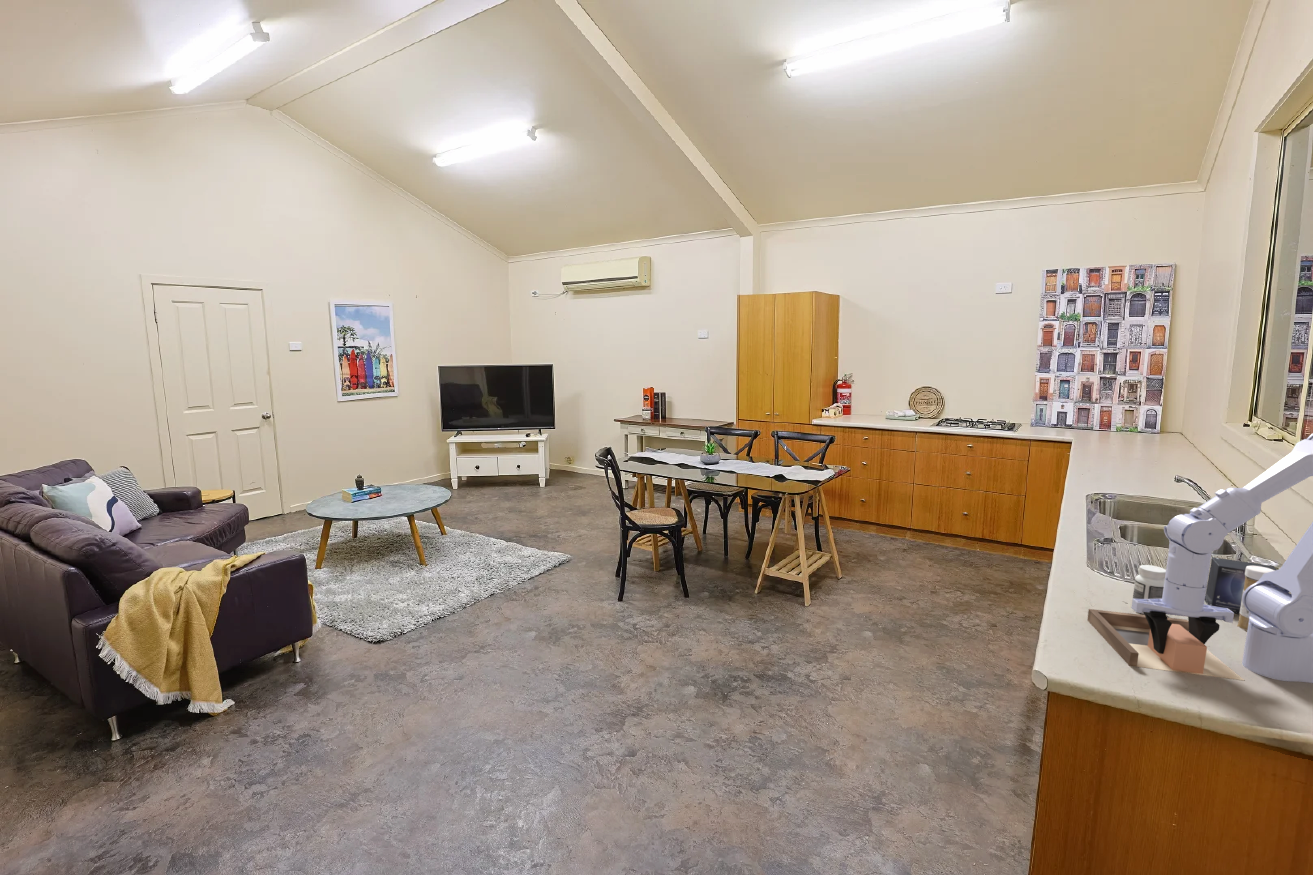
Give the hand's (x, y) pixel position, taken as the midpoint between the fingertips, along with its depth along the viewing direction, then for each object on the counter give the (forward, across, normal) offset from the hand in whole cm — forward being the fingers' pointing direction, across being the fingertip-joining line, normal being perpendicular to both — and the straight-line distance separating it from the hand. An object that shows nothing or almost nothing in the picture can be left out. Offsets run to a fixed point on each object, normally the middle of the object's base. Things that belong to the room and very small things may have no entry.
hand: (1175, 653), depth 112 cm
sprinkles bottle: (+2, -22, -20) cm, 31 cm away
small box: (+2, -26, -32) cm, 42 cm away
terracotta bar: (+1, 0, 0) cm, 1 cm away
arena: (+2, 0, -4) cm, 5 cm away
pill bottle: (+2, -6, -26) cm, 26 cm away
